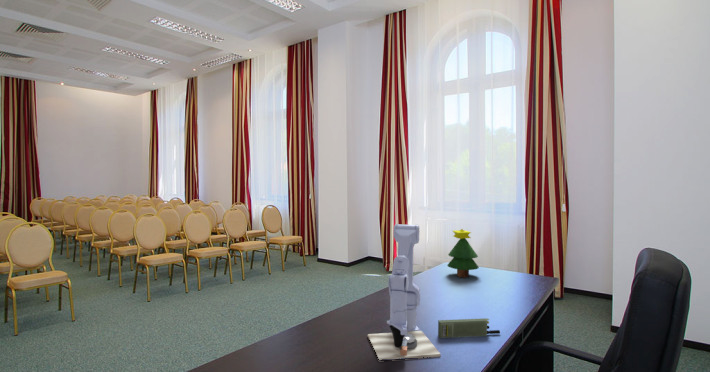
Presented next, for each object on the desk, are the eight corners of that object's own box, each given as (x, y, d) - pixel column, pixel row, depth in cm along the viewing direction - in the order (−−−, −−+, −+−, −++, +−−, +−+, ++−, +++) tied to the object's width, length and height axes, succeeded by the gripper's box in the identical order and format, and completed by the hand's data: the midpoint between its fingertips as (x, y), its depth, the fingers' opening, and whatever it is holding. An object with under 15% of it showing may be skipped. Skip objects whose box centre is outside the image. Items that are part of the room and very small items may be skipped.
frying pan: (393, 354, 127) (393, 349, 127) (396, 335, 143) (396, 330, 143) (414, 356, 126) (414, 351, 126) (415, 336, 142) (415, 331, 142)
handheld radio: (437, 335, 150) (497, 333, 153) (440, 339, 147) (501, 336, 149) (437, 319, 150) (497, 316, 152) (440, 322, 146) (501, 320, 149)
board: (367, 336, 148) (367, 330, 148) (421, 333, 152) (421, 327, 152) (379, 361, 128) (379, 354, 128) (440, 356, 132) (440, 349, 132)
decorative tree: (484, 279, 231) (484, 230, 230) (454, 280, 229) (454, 231, 228) (470, 271, 250) (470, 226, 249) (442, 272, 248) (443, 226, 247)
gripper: (382, 302, 139) (382, 338, 140) (392, 316, 125) (392, 357, 125) (401, 301, 140) (400, 337, 141) (413, 315, 126) (412, 355, 126)
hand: (398, 346), depth 133 cm, fingers closed, pressing on frying pan
